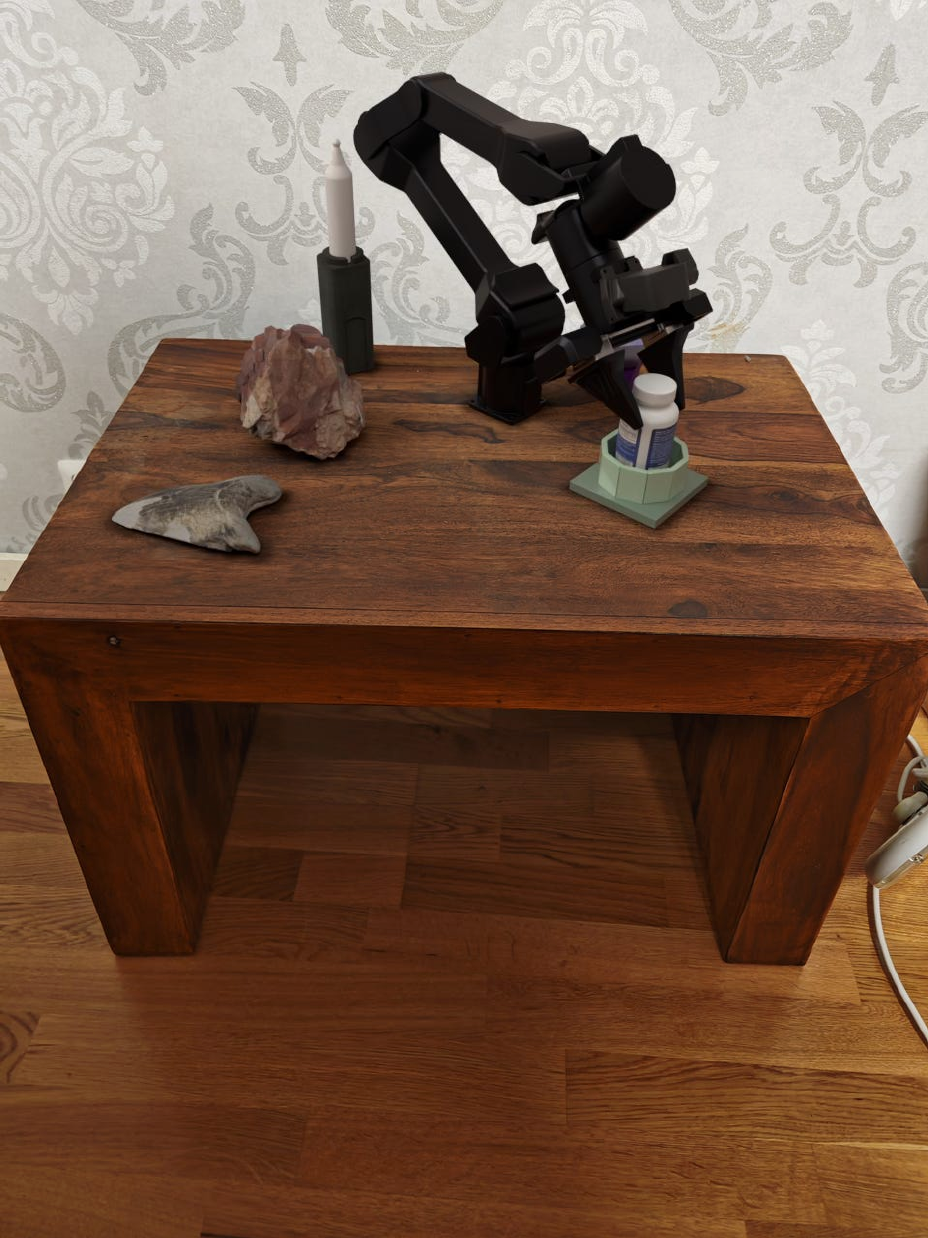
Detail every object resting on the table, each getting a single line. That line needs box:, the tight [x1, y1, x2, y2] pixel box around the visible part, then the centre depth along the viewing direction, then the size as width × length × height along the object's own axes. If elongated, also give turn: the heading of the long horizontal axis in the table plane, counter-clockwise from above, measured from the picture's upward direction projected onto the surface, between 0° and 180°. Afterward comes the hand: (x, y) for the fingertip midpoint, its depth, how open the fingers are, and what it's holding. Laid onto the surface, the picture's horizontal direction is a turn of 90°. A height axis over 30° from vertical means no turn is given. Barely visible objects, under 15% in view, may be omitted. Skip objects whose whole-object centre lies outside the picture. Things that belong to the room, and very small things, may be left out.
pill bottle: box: [614, 373, 680, 470], centre depth 93 cm, size 5×5×10 cm
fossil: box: [111, 474, 283, 554], centre depth 90 cm, size 11×5×15 cm
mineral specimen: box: [235, 323, 367, 461], centre depth 100 cm, size 12×13×15 cm
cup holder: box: [568, 428, 709, 530], centre depth 96 cm, size 10×10×4 cm
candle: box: [316, 137, 376, 376], centre depth 107 cm, size 5×5×25 cm
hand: (660, 419), depth 91 cm, fingers closed on pill bottle, 5 cm apart
